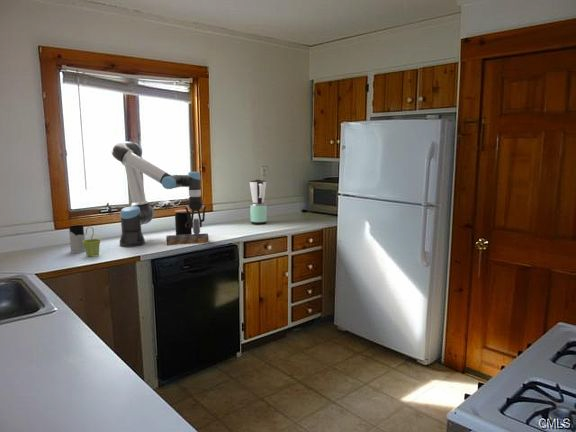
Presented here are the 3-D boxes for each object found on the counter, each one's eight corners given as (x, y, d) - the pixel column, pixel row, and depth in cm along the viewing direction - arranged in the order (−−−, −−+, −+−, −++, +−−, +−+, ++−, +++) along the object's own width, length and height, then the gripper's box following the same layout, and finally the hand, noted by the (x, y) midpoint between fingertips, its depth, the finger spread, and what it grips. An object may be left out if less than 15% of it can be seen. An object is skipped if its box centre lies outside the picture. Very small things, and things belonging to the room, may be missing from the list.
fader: (194, 237, 280) (193, 219, 278) (194, 236, 284) (193, 218, 283) (199, 237, 280) (198, 219, 279) (198, 235, 285) (198, 218, 283)
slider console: (166, 245, 274) (166, 238, 273) (166, 242, 283) (166, 235, 282) (208, 242, 280) (208, 235, 279) (207, 239, 289) (207, 233, 288)
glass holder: (67, 251, 258) (65, 226, 256) (91, 247, 269) (89, 223, 266) (73, 253, 252) (71, 228, 250) (98, 249, 263) (96, 225, 261)
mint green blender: (247, 222, 356) (246, 179, 350) (263, 221, 360) (262, 178, 355) (254, 226, 338) (253, 180, 333) (270, 225, 343) (270, 180, 337)
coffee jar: (187, 238, 294) (186, 211, 292) (173, 237, 297) (171, 211, 294) (194, 235, 305) (193, 209, 302) (180, 234, 307) (178, 209, 304)
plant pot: (94, 257, 242) (93, 242, 241) (80, 257, 245) (78, 241, 244) (105, 254, 251) (104, 239, 250) (91, 253, 254) (90, 238, 252)
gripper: (182, 197, 273) (183, 234, 276) (208, 196, 277) (209, 232, 280) (182, 196, 280) (183, 232, 284) (207, 195, 284) (208, 230, 288)
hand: (196, 232), depth 282 cm, fingers closed on fader, 3 cm apart
